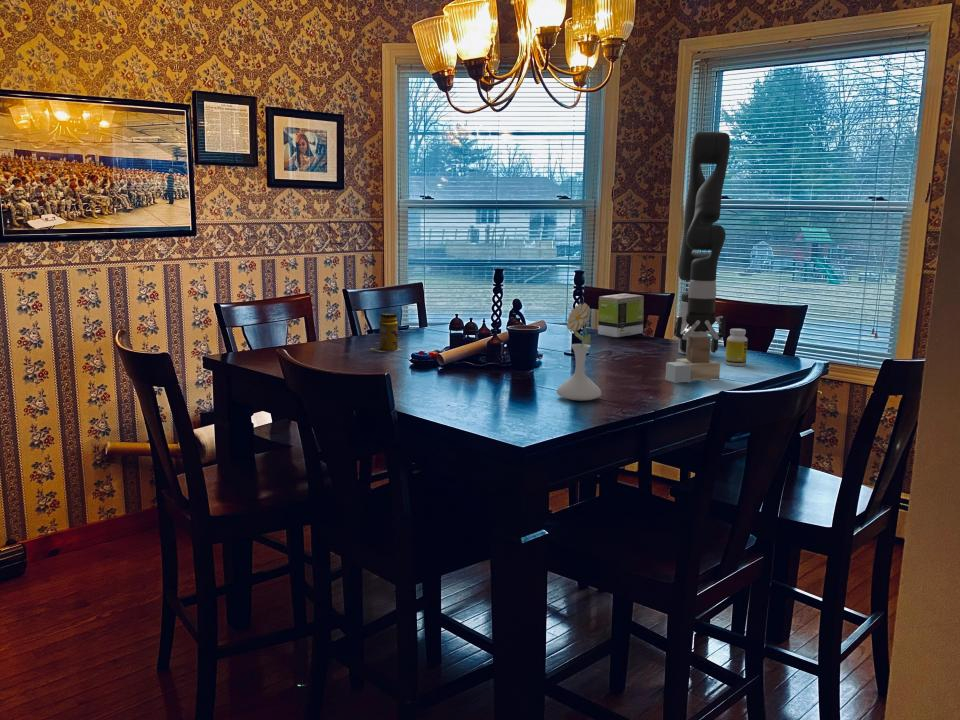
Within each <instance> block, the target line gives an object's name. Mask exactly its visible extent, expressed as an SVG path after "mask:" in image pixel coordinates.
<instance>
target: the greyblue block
mask: <svg viewBox="0 0 960 720" xmlns="http://www.w3.org/2000/svg"><path fill="white" fill-rule="evenodd" d="M690 377H691V365H689V364H687V363H684V362H676V361H670V362H669V361H667V362H666V364H665V376H664V378H665V380H666V381H668V382H670V381H671V382H670V383H672V382H674V383H673V384H679V383H678V382H688V383H691V381H690Z"/></svg>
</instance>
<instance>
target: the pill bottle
mask: <svg viewBox="0 0 960 720" xmlns="http://www.w3.org/2000/svg"><path fill="white" fill-rule="evenodd" d="M746 333H747V331H746V329H745V328H731V329H729V334H730V335H729V336H728V337H727V338H726V347H725V360H724V361H725V364H726V365H727V366H734V367H743V366H746V364H747V354H748V353H747V351H748V341H749V340H748V337H746V336H745V335H746Z"/></svg>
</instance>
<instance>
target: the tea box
mask: <svg viewBox="0 0 960 720" xmlns="http://www.w3.org/2000/svg"><path fill="white" fill-rule="evenodd" d="M644 301H645V296H644V295H640V294H631V293H618V294H616V293H615V294H610V295H609V294H608V295H601V296H599V297H598V316H597V317H598V320H597V321H598V324H597V325H598V326H597V334H598V335H601V336H606V337H613V338H622V337H626V336H633V335H639V334H643V333H644V312H645V311H644V310H645V309H644V308H645V306H644V303H645V302H644Z"/></svg>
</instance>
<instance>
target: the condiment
mask: <svg viewBox="0 0 960 720" xmlns="http://www.w3.org/2000/svg"><path fill="white" fill-rule="evenodd" d="M397 317H398V315H397V313H394V312H384V313H381V314H380V322H379V347H371V348H370V347H369V349H370V350H373V351H375V352H378V353H384V352H397V351H403V349H402V348H399V333H398V332H399V327H398V326H399V324H398V320H397Z"/></svg>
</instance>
